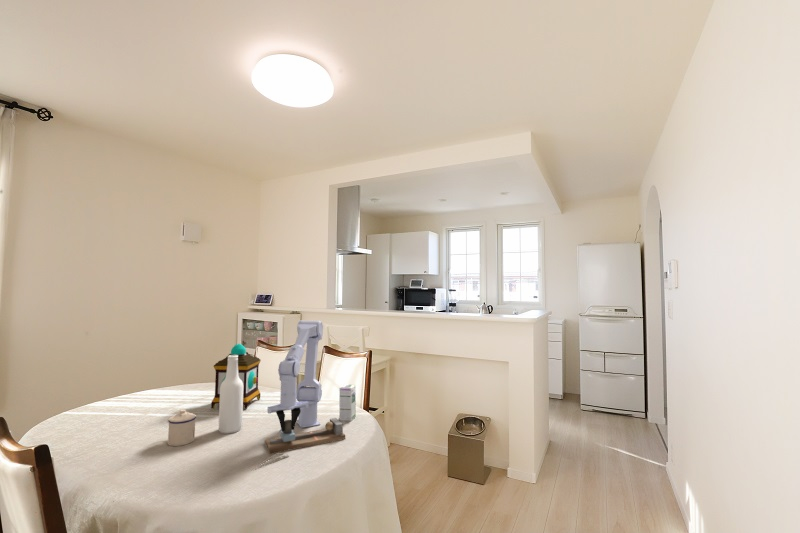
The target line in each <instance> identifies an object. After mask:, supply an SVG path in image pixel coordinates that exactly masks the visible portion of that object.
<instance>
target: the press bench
mask: <svg viewBox="0 0 800 533" xmlns="http://www.w3.org/2000/svg"><path fill="white" fill-rule="evenodd" d="M342 440H346V434H345V433H344V426H343V423H342V421H341V420H340V419H338V418H337V417H333V418H330V419H329V421H327V422H326V423H325V425H324V428H322V429H317V430H309V431H307V432H306V431H305V432H300V433H295V440H292V441H287V442H284V441H283V440H282V438H281V436H277V437H272V438H266V439H264V445H265V447H266V450H267V451H268V453H269V455H271V454H272V455H273V454H276V453H284V452H287V451H291V450H297V449H301V448H307V447H312V446H317V445H322V444H327V443H332V441H333V442H337V441H338V442H339V441H342Z"/></svg>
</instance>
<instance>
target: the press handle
mask: <svg viewBox="0 0 800 533" xmlns="http://www.w3.org/2000/svg"><path fill="white" fill-rule="evenodd" d="M295 434H296V433H295V432H294V430H292V420H291V419H285V420H284V432H282V431H281V429H280V430H279V437H281V438H282V440H283V441H284V442H287V441H292V440H295Z"/></svg>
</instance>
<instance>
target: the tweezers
mask: <svg viewBox="0 0 800 533" xmlns="http://www.w3.org/2000/svg"><path fill="white" fill-rule="evenodd" d="M278 455H279V456H278ZM289 457H290V455H289V454H285V455H284V452H277V453H273V454H272V455H271V456H269V457H268V458H267V459H265V460H264V461H262V462H261V463H259V464H258V465H256V466H255V467H254V468H255V470H257V469H256V467H257V468H258V469H260V468H262V466H263V467H265V466H268V465H269V463H270V464H272V462H273V463H275V462H278V461H280V460H284V459H286V458H289ZM268 460H270V461H268ZM266 461H267V462H266ZM263 463H264V464H263ZM261 464H262V465H261ZM267 464H268V465H267ZM259 465H260V466H259ZM264 465H265V466H264ZM259 467H260V468H259Z"/></svg>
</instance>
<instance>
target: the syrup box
mask: <svg viewBox="0 0 800 533" xmlns="http://www.w3.org/2000/svg"><path fill="white" fill-rule="evenodd" d="M338 403H339V417H338V418H339V419H338V420H339V421H341V420H342V421H343V422H352V421H353V420H354V419H355V418H356V413H357V412H356V410H357V408H356V404H357V402H356V385H355V384H343V385H342V386H340V387H339V402H338ZM342 421H341V422H342Z"/></svg>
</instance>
